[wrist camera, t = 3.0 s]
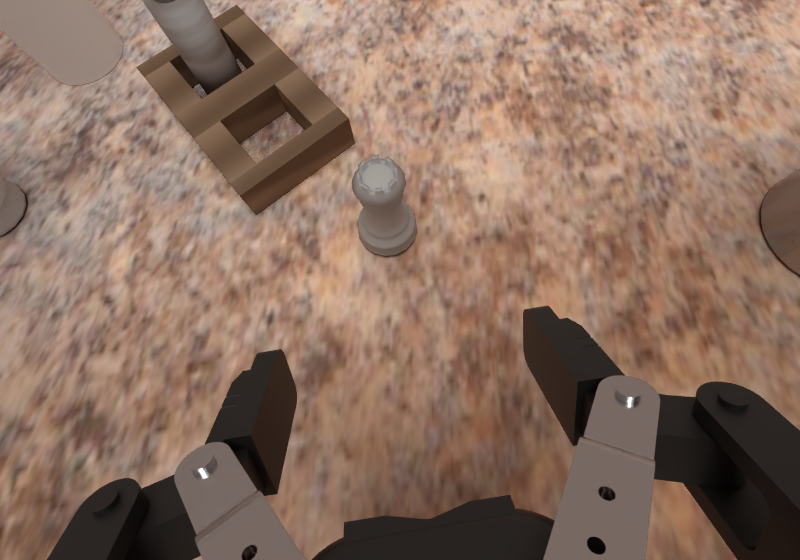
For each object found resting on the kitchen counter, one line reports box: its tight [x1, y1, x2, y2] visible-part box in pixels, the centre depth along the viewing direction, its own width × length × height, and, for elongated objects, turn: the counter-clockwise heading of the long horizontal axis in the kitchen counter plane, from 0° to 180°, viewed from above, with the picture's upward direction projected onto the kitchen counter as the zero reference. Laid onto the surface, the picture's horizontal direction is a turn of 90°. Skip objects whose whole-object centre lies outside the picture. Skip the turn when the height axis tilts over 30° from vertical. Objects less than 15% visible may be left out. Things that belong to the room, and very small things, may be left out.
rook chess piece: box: [352, 155, 417, 256], centre depth 27 cm, size 4×4×8 cm
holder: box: [136, 0, 355, 215], centre depth 30 cm, size 16×10×11 cm, turn 40°
